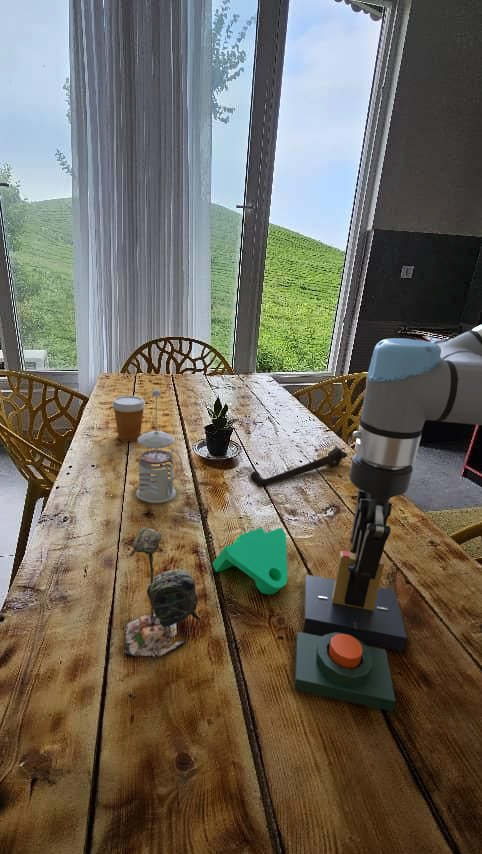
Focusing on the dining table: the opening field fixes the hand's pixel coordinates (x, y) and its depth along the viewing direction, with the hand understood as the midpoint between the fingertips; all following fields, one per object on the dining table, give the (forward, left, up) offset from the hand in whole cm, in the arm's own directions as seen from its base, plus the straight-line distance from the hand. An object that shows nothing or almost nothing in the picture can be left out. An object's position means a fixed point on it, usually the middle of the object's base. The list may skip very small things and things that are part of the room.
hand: (353, 598), depth 68 cm
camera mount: (+18, -9, +1) cm, 20 cm away
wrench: (+9, -51, -4) cm, 52 cm away
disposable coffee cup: (+59, -58, -4) cm, 83 cm away
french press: (+40, -28, -4) cm, 49 cm away
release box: (+2, +11, -4) cm, 12 cm away
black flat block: (0, 0, -4) cm, 4 cm away
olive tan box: (0, 0, -1) cm, 1 cm away
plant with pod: (+27, +11, -4) cm, 29 cm away
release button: (+2, +11, 0) cm, 11 cm away
